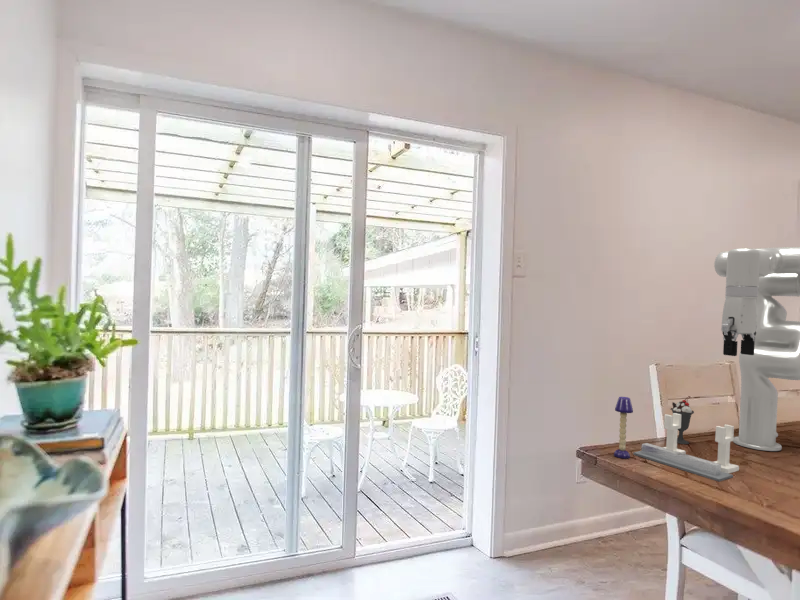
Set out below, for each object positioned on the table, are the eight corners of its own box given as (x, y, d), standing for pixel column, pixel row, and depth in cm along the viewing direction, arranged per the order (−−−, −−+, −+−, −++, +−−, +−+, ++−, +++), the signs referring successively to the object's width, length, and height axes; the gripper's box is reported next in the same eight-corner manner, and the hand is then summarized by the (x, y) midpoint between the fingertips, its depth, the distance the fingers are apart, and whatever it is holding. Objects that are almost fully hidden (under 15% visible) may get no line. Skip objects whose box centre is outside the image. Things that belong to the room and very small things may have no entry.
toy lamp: (609, 453, 143) (612, 395, 143) (625, 453, 143) (627, 395, 143) (618, 458, 138) (621, 398, 138) (634, 459, 138) (637, 399, 138)
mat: (647, 451, 146) (647, 449, 146) (733, 477, 127) (733, 474, 127) (633, 454, 143) (633, 452, 143) (719, 481, 123) (719, 479, 123)
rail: (646, 451, 144) (646, 442, 144) (720, 474, 127) (721, 464, 127) (641, 452, 143) (641, 444, 143) (715, 475, 126) (716, 465, 126)
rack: (668, 450, 149) (670, 411, 148) (738, 470, 132) (740, 427, 132) (656, 452, 145) (658, 413, 145) (727, 473, 129) (729, 429, 129)
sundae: (696, 446, 154) (698, 397, 154) (672, 443, 156) (674, 396, 156) (688, 440, 161) (690, 394, 161) (665, 438, 162) (668, 392, 162)
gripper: (741, 294, 145) (739, 352, 146) (711, 291, 136) (708, 354, 136) (771, 294, 139) (768, 355, 139) (741, 292, 130) (738, 357, 130)
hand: (738, 355), depth 138 cm, fingers open, 9 cm apart
